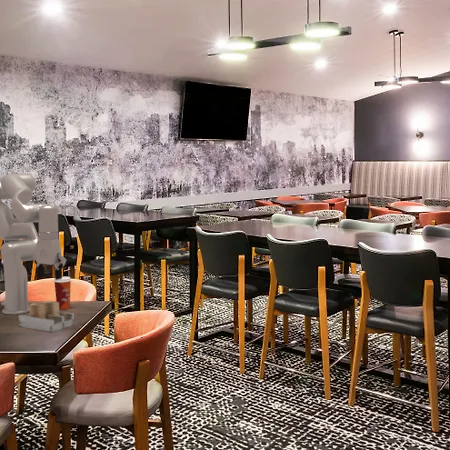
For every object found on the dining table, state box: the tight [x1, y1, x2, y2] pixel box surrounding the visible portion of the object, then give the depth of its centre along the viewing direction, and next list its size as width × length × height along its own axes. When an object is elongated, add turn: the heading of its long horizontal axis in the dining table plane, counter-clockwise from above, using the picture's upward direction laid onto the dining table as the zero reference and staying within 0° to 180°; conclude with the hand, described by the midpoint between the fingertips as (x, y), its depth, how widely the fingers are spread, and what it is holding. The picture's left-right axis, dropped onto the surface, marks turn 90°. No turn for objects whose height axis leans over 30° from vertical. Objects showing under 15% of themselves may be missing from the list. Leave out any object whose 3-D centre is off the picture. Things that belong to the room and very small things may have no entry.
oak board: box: [29, 303, 46, 319], centre depth 241 cm, size 6×2×9 cm, turn 61°
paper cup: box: [53, 276, 72, 311], centre depth 271 cm, size 8×8×14 cm
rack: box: [18, 310, 75, 333], centre depth 242 cm, size 18×12×5 cm
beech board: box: [43, 300, 60, 316], centre depth 245 cm, size 6×2×9 cm, turn 60°
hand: (49, 277), depth 243 cm, fingers open, 9 cm apart
